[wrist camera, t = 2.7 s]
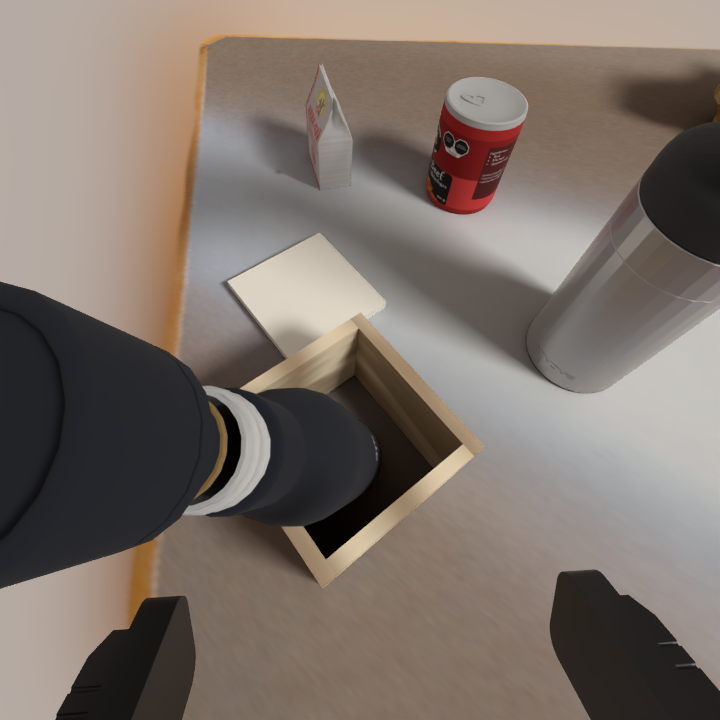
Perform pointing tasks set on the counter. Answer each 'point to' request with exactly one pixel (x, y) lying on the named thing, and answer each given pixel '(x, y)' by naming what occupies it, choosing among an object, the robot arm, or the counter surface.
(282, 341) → the cream tile
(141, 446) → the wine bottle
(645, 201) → the robot arm
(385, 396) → the pine crate
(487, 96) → the canned food
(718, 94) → the rough brown rock
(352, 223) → the counter surface
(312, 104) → the white paper bag
